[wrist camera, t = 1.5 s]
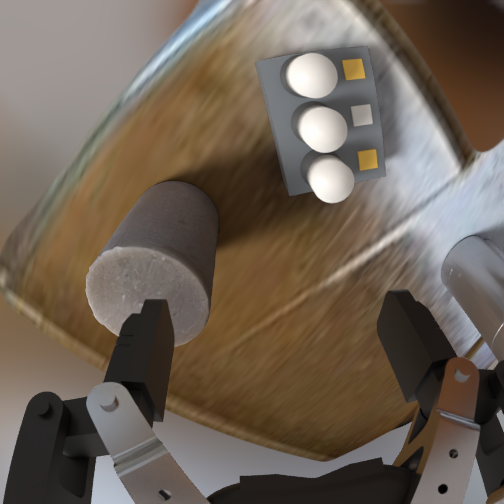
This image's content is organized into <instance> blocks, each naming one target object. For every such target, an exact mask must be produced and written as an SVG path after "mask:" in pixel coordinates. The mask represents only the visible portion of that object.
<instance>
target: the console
mask: <svg viewBox="0 0 504 504" xmlns="http://www.w3.org/2000/svg"><path fill="white" fill-rule="evenodd" d="M309 53H317V54H321V55H323V56H325V57H327V58H328V59H329V60H330V61H331V62H332V63H333V64H334V66H335V68H336V70H337V75H338V79H337V84H336V86H335V88H334V90H333V91H332V92H331V93H330V94H328V95H327V96H324V97H321V98H309V97H306V96H302V95H299V94H297V93H296V92H294V91H293V90H292V89H291V88H290V87H289V85H288V83H287V80H286V69H287V67H288V65H289V63H290V62H291V61H292V60H293V59H295V58H297V57H299V56H302V55H305V54H309ZM255 66H256V70H257V73H258V77H259V81H260V85H261V89H262V93H263V97H264V101H265V105H266V109H267V113H268V117H269V121H270V126H271V130H272V134H273V138H274V143H275V147H276V151H277V156H278V160H279V165H280V169H281V174H282V178H283V182H284V185H285V187H286V189H287V192H288V194H289V196H294V195H298V194H303V193H307V192H312V191H313V189H312V188H311V186H310V185H309V183H308V180H307V170H308V167H309V165H310V164H311V162H312V161H313V160H314V159H316V158H317V157H319V156H322V155H332V156H335V157H337V158H338V159H340V160H341V161H342V162H343V163H344V164H345V165H347V166H348V167H349V168H350V169H351V171H352V173H353V175H354V182H359V181H364V180H369V179H374V178H380V177H385V176H386V167H385V156H384V145H383V136H382V128H381V120H380V112H379V105H378V99H377V93H376V87H375V81H374V75H373V70H372V65H371V60H370V55H369V50H368V46H366V47H351V48H340V49H330V50H321V51H313V52H306V53H299V54H293V55H286V56H281V57H275V58H270V59H265V60H260V61H257V62H256V63H255ZM311 106H324V107H327V108H330V109H333V110H335V111H337V112H338V113H340V114H341V115H342V116H343V118H344V119H345V121H346V124H347V137H346V140H345V142H344V143H343V144H342V146H341V147H340V148H338V149H337V150H335V151H332V152H328V153H322V152H318V151H315V150H314V149H312V148H311V147H310V146H309V145H308V144H307V143H306V142H304V141H303V140H302V138H301V137H300V135H299V133H298V129H297V123H298V119H299V117H300V115H301V113H302V112H303V111H304V110H306V109H307V108H309V107H311Z"/></svg>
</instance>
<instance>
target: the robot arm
mask: <svg viewBox="0 0 504 504" xmlns="http://www.w3.org/2000/svg"><path fill="white" fill-rule="evenodd" d="M441 277H442V281H443V283H444V285H445V286H446V287H447V289H448V290H449V291H450V293H451V294H452V295H453V296H454V298H455V299H456V301H457V302H458V303H459V305H460V306H461V307H462V309H463V310H464V311H465V313H466V314H467V316H468V317H469V318H470V320H471V321H472V323H473V324H474V325H475V327H476V328H477V330H478V331H479V333H480V334H481V336H482V337H483V339H484V340H485V342H486V343H487V345H488V346H489V348H490V349H491V351H492V352H493V354H494V355H495V357H496V358H497V360H498V362H499V363H498V364H497V366H496V367H495V368H494V370H484V369H477V367H476V366H475V364H474V363H473V362H472V361H470V360H469V359H466V358H464V357H458V356H457V355H456V353H455V351H454V350H453V348H452V346H451V345H450V343H449V341H448V340H447V338H446V336H445V335H444V333H443V331H442V330H441V329H440V327H439V325H438V323H437V322H436V321H435V319H434V317H433V315H432V314H431V312H430V311H429V309H428V308H426V307H425V306H424V305H423V304H421V303H420V302H419V301H415V299H414V298H413V296H412V295H411V293H410V292H409V291H408V290H407V289H403V290H391V291H388V292H387V294H386V296H385V299H384V302H383V306H382V309H381V312H380V315H379V318H378V321H377V333H378V336H379V339H380V341H381V343H382V345H383V348H384V350H385V352H386V354H387V357H388V359H389V361H390V364H391V366H392V368H393V371H394V373H395V375H396V378H397V380H398V383H399V385H400V387H401V390H402V392H403V395H404V397H405V400H406V402H407V403H408V402H412V401H416V400H418V403H419V406H418V407H417V409H416V412H415V415H414V418H413V421H412V424H411V427H410V430H409V432H408V435H407V438H406V440H405V443H404V445H403V448H402V450H401V452H400V453H399V455H398V456H397V458H396V460H395V461H394V463H393V465H383V462H382V458H381V457H380V458H376V459H371V460H367V461H362V462H358V463H353V464H349V465H347V466H344V467H342V468H340V469H338V470H335V471H333V472H330V473H328V474H326V475H323V476H320V477H317V478H304V477H295V476H287V475H279V474H271V475H255V476H240V483H237V484H233V485H230V486H227V487H224V488H222V489H220V490H218V491H216V492H214V493H213V494H211V495H210V496H208V497H207V498H205V497H204V496H203V495H202V493H201V492H200V491H199V490H198V489H197V487H196V486H195V485H194V484H193V483H192V481H191V480H190V479H189V478H188V476H187V475H186V474H185V473H184V471H183V470H182V469H181V467H180V466H179V465H178V464H177V462H176V461H175V460H174V458H173V457H172V456H171V454H170V453H169V451H168V450H167V449H166V447H165V446H164V445H163V443H162V442H161V441H160V440H159V439H158V437H157V436H156V435H155V433H154V431H153V430H152V427H153V421H157V422H163V417H164V410H165V403H166V396H167V389H168V382H169V376H170V369H171V363H172V357H173V351H174V344H175V335H174V328H173V324H172V319H171V315H170V310H169V306H168V302H167V300H166V299H145V301H144V303H143V306H142V309H141V312H140V313H132V314H131V315H130V316H129V317H128V318H127V319H126V320H125V321H124V323H123V324H122V327H121V330H120V333H119V337H118V339H117V342H116V346H115V347H114V350H113V353H112V356H111V360H110V363H109V366H108V369H107V372H106V376H105V379H104V381H103V383H102V384H99V385H98V386H96V387H95V388H93V389H92V390H91V392H90V393H89V395H88V396H87V397H84V398H78V399H72V400H65V401H62V400H61V399H60V398H59V396H57V395H56V394H55V393H52V392H41V393H39V394H37V395H35V396H34V397H33V398H32V399H31V400H30V401H29V403H28V405H27V408H26V411H25V414H24V417H23V421H22V424H21V427H20V431H19V434H18V438H17V441H16V445H15V449H14V453H13V457H12V461H11V465H10V470H9V474H8V479H7V484H6V489H5V495H4V501H3V504H91V497H92V487H93V478H94V471H95V463H96V457H97V456H104V455H111V457H112V459H113V461H114V469H115V471H116V473H117V475H118V477H119V478H120V480H121V482H122V483H123V485H124V487H125V488H126V490H127V491H128V493H129V495H130V496H131V498H132V499H133V501H134V502H135V504H462V502H463V500H464V497H465V493H466V490H467V486H468V483H469V479H470V476H471V472H472V467H473V463H474V459H475V456H476V459H477V463H478V466H479V469H480V472H481V476H482V479H483V482H484V486H485V489H486V493H487V497H488V499H487V501H486V504H504V432H503V430H502V427H501V425H500V422H499V420H498V418H497V415H496V414H497V413H498V412H499V411H500V410H502V412H503V414H504V253H503V252H502V251H501V250H500V249H499V248H498V247H497V246H496V245H494V244H493V243H492V242H491V241H490V240H489V239H488V240H483V239H482V238H481V237H478V236H471V237H467V238H465V239H463V240H462V241H460V242H459V243H458V244H457V245H456V246H455V247H454V248H453V249H452V250H451V251H450V253H449V254H448V256H447V257H446V259H445V261H444V264H443V267H442V272H441Z"/></svg>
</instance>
